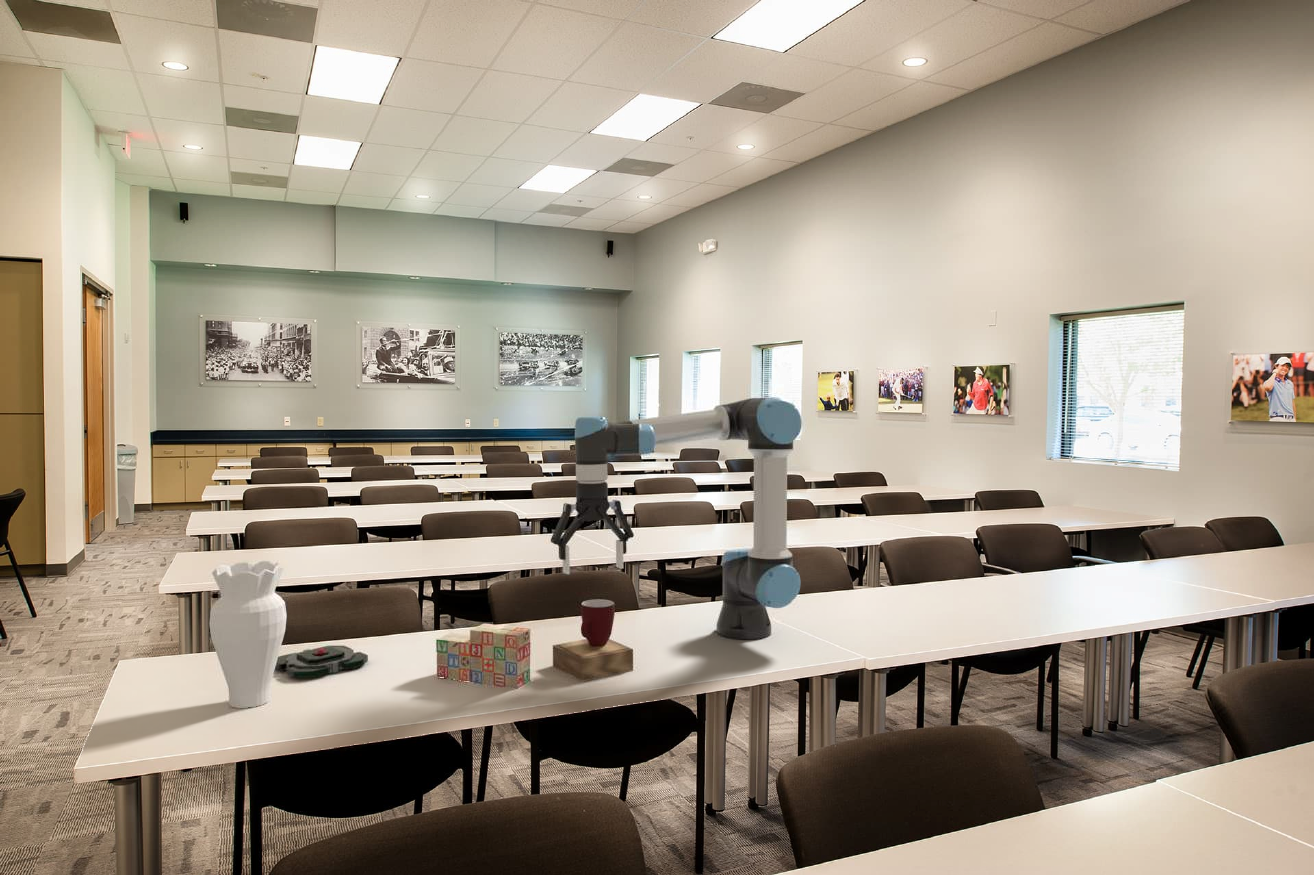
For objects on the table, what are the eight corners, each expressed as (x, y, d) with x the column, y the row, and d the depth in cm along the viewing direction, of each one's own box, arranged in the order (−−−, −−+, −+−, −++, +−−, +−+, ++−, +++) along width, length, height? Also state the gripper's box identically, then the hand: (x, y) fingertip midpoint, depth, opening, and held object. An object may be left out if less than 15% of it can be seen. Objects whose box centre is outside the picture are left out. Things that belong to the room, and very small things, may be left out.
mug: (601, 653, 196) (601, 611, 195) (570, 649, 199) (570, 607, 198) (619, 641, 205) (620, 601, 205) (590, 638, 208) (590, 598, 208)
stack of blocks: (435, 678, 194) (435, 626, 194) (451, 671, 200) (451, 619, 200) (517, 689, 187) (517, 634, 187) (531, 681, 193) (530, 627, 192)
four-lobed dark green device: (374, 667, 204) (373, 649, 204) (300, 685, 191) (299, 665, 191) (339, 652, 216) (338, 635, 216) (267, 668, 203) (267, 650, 203)
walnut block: (602, 655, 212) (602, 635, 211) (633, 670, 200) (633, 648, 200) (552, 665, 204) (552, 644, 203) (581, 681, 192) (581, 658, 192)
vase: (237, 719, 169) (234, 575, 168) (196, 706, 177) (193, 568, 176) (302, 698, 181) (300, 563, 180) (261, 686, 189) (259, 557, 188)
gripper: (633, 477, 209) (635, 562, 210) (536, 483, 198) (538, 572, 199) (646, 480, 202) (647, 568, 203) (545, 485, 192) (547, 578, 193)
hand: (593, 570), depth 201 cm, fingers open, 13 cm apart
